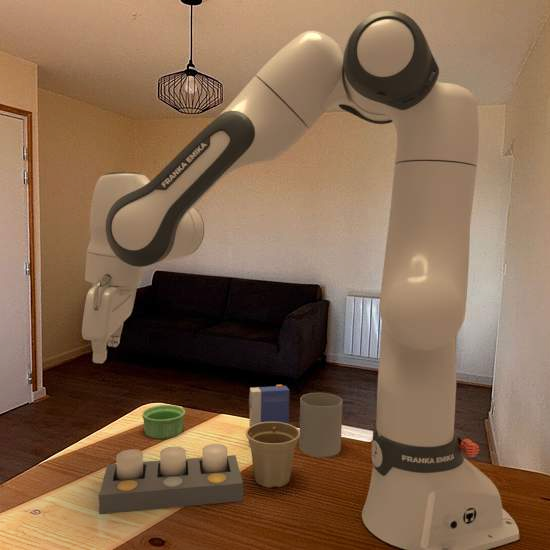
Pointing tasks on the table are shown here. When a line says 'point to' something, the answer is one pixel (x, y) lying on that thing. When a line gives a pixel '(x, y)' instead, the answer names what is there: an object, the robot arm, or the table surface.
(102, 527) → the table surface
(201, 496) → the board
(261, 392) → the walkman
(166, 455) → the button
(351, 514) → the table surface
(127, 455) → the button
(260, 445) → the flower pot
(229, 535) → the table surface
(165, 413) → the ramekin
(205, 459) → the button
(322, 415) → the cup
